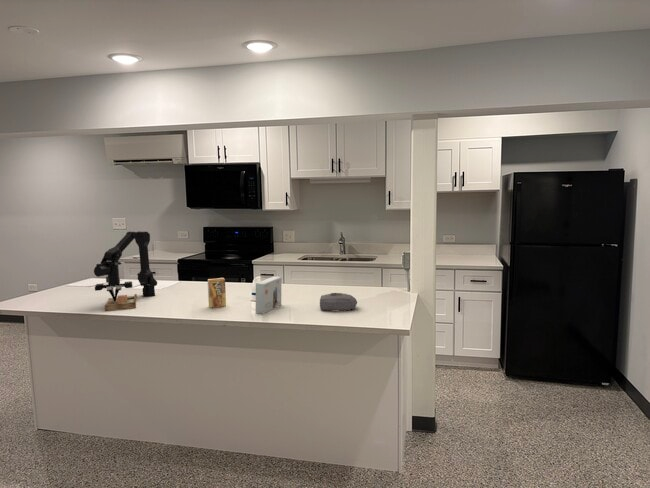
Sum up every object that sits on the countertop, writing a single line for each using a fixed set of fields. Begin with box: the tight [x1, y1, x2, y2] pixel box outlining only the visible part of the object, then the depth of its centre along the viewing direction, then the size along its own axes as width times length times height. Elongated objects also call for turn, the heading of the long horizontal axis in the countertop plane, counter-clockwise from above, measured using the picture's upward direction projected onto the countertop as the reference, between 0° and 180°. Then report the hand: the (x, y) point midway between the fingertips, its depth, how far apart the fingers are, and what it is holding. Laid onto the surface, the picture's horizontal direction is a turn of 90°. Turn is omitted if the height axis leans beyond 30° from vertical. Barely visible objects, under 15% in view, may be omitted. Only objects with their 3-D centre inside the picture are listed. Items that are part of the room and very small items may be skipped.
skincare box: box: [255, 275, 283, 315], centre depth 240 cm, size 21×5×16 cm, turn 160°
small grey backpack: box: [319, 292, 358, 311], centre depth 239 cm, size 15×8×20 cm
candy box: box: [207, 277, 227, 309], centre depth 247 cm, size 9×4×15 cm, turn 116°
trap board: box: [104, 293, 138, 312], centre depth 255 cm, size 15×23×3 cm, turn 21°
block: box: [117, 294, 128, 303], centre depth 254 cm, size 5×5×3 cm
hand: (115, 301), depth 252 cm, fingers closed
